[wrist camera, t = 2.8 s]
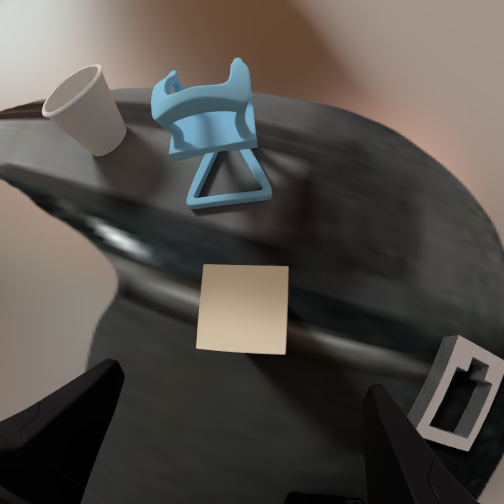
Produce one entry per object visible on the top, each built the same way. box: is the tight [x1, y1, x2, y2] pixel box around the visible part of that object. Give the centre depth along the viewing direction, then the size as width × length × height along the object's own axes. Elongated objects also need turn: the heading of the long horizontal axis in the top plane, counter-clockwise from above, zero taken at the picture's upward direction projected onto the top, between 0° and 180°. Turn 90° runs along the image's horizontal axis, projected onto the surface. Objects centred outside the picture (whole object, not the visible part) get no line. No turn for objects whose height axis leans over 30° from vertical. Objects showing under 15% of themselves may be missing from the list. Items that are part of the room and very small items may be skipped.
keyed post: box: [196, 264, 288, 354], centre depth 16 cm, size 5×4×11 cm
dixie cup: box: [42, 65, 127, 156], centre depth 26 cm, size 8×8×10 cm
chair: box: [151, 58, 273, 209], centre depth 21 cm, size 8×8×12 cm
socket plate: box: [407, 335, 504, 451], centre depth 16 cm, size 8×7×2 cm
